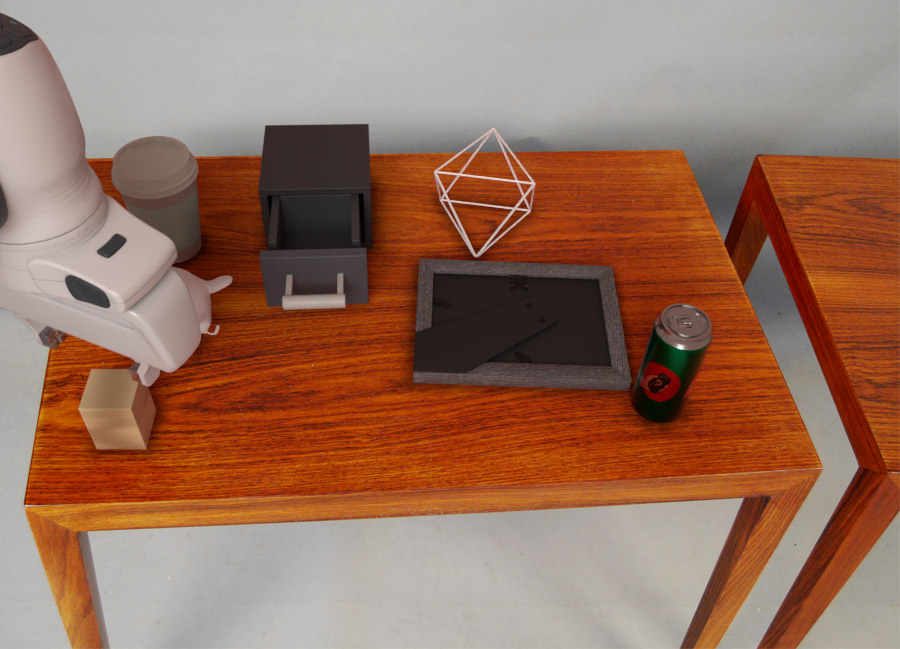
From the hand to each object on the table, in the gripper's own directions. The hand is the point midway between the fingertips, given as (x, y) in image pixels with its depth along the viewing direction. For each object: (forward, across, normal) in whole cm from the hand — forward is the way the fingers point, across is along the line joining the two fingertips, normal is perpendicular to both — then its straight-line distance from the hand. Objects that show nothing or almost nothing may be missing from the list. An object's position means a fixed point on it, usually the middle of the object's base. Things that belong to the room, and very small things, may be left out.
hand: (100, 359), depth 71 cm
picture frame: (+10, +28, +27) cm, 40 cm away
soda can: (+10, +44, +23) cm, 50 cm away
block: (+10, 0, 0) cm, 10 cm away
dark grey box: (+10, +1, +34) cm, 35 cm away
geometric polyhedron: (+10, +19, +41) cm, 46 cm away
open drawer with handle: (+9, +7, +23) cm, 26 cm away
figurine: (+10, -2, +12) cm, 15 cm away
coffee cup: (+10, -11, +22) cm, 27 cm away
